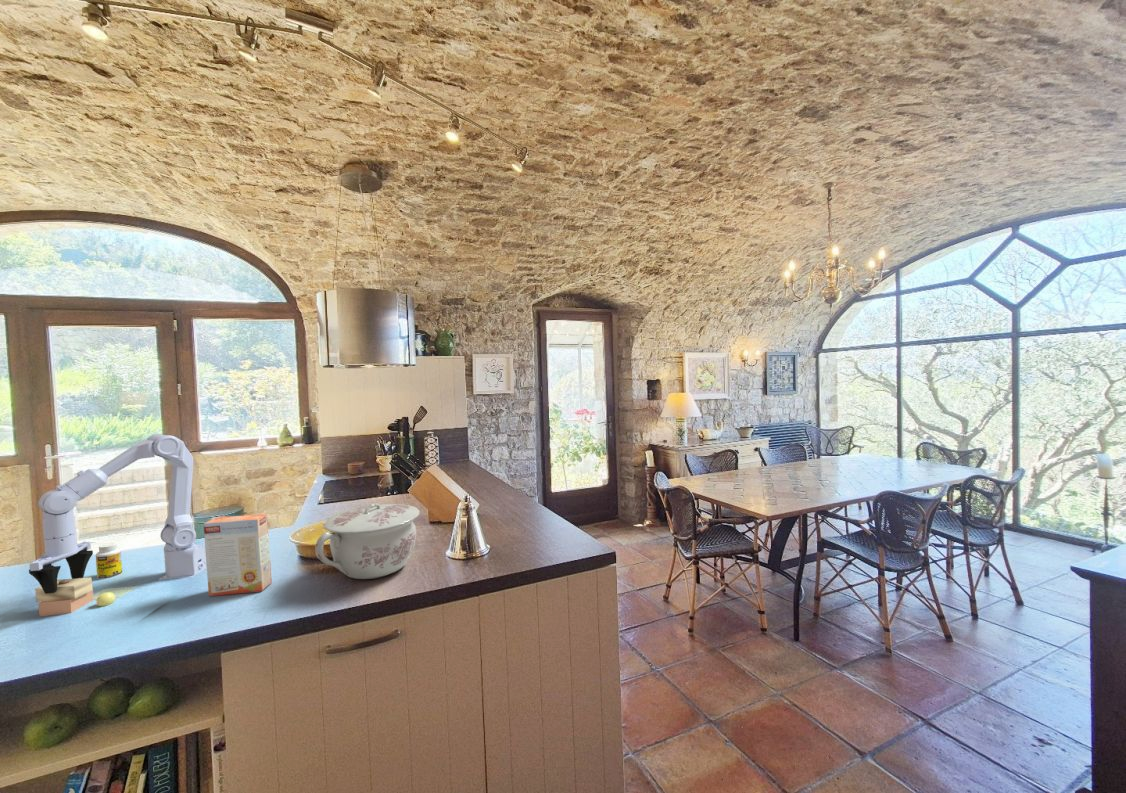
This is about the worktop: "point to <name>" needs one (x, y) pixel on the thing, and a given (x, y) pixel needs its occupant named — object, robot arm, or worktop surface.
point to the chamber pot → (370, 540)
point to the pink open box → (64, 605)
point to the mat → (115, 591)
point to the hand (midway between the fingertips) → (64, 586)
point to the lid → (66, 590)
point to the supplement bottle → (108, 561)
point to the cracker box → (237, 554)
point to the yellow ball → (105, 599)
